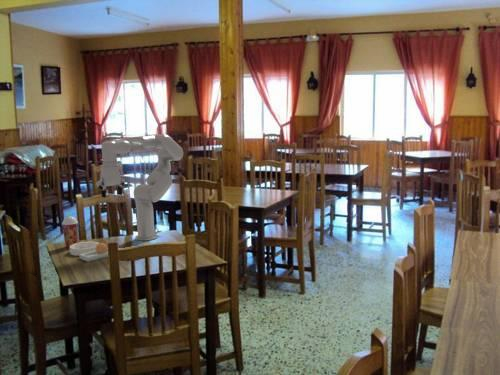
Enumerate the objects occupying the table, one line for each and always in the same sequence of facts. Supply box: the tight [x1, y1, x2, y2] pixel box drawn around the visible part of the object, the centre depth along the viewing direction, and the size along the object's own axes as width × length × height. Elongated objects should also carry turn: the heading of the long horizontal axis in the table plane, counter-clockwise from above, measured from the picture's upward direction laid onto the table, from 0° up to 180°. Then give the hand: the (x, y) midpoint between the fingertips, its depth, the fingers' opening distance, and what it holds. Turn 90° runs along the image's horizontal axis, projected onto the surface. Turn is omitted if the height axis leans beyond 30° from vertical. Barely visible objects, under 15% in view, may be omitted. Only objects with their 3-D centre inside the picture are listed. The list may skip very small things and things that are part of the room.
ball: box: [95, 242, 108, 254], centre depth 271 cm, size 6×6×6 cm
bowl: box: [69, 241, 100, 257], centre depth 281 cm, size 15×15×4 cm
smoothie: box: [61, 210, 79, 249], centre depth 290 cm, size 8×8×20 cm
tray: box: [79, 247, 109, 263], centre depth 270 cm, size 16×9×2 cm, turn 134°
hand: (112, 196), depth 285 cm, fingers open, 9 cm apart
